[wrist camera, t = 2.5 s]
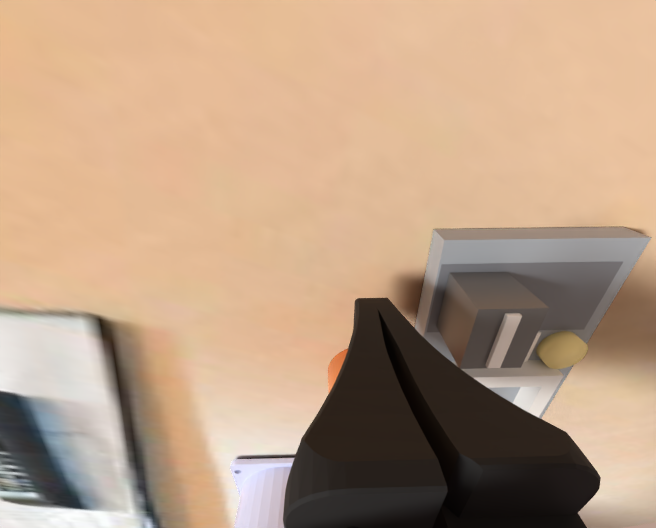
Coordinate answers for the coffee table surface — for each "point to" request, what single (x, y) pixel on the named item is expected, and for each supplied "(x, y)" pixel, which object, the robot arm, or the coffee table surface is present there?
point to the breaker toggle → (489, 319)
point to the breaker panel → (546, 284)
